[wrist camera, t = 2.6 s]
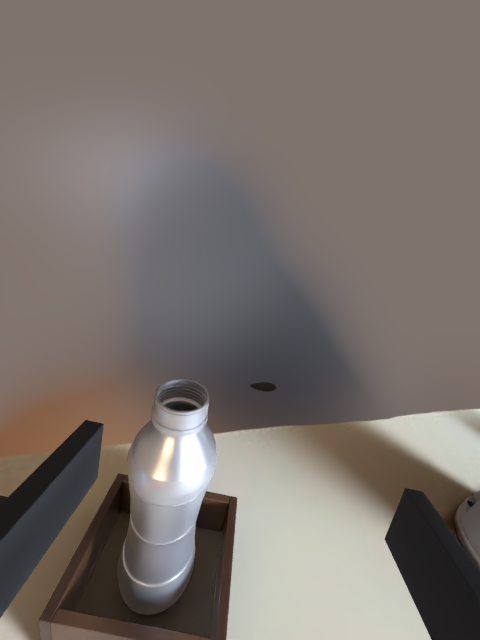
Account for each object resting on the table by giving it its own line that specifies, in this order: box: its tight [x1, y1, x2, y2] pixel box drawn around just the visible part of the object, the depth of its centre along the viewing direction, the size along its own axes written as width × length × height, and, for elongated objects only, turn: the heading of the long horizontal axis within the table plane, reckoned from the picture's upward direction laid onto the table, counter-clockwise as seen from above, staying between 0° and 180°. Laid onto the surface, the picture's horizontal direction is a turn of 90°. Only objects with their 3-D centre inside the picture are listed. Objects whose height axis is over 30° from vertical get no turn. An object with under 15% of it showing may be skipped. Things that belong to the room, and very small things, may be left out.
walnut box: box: [39, 474, 237, 640], centre depth 25 cm, size 13×12×4 cm
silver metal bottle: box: [117, 379, 217, 615], centre depth 23 cm, size 6×7×20 cm
